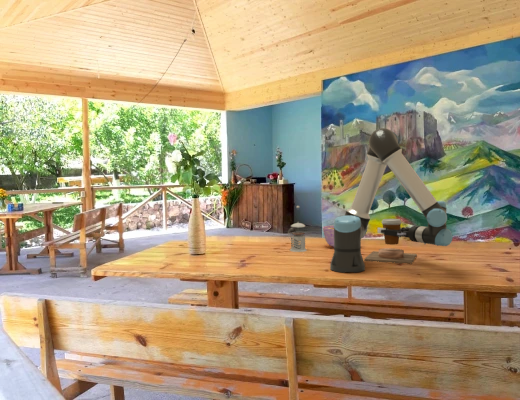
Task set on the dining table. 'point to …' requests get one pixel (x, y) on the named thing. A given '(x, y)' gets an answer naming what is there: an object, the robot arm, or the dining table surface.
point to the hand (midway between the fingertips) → (384, 229)
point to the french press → (297, 238)
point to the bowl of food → (329, 234)
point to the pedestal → (391, 256)
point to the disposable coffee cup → (393, 225)
